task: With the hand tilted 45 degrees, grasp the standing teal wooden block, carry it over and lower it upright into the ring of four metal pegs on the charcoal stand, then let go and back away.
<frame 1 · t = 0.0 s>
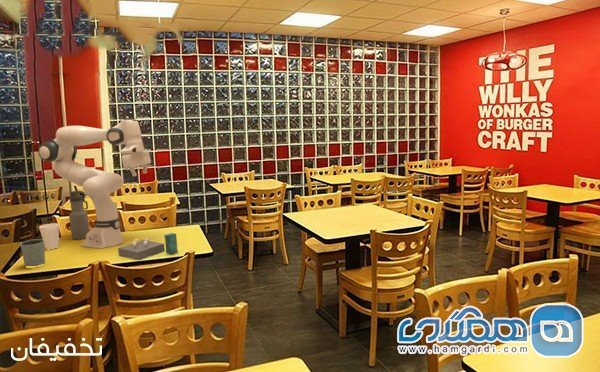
hand: (140, 174, 242), 39 cm above the table, tool pointing down, fingers open, 8 cm apart
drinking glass: (35, 266, 221), on the table
foam cup: (52, 248, 249), on the table
peg stand: (142, 253, 233), on the table
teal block: (172, 253, 231), on the table
water bottle: (81, 237, 269), on the table
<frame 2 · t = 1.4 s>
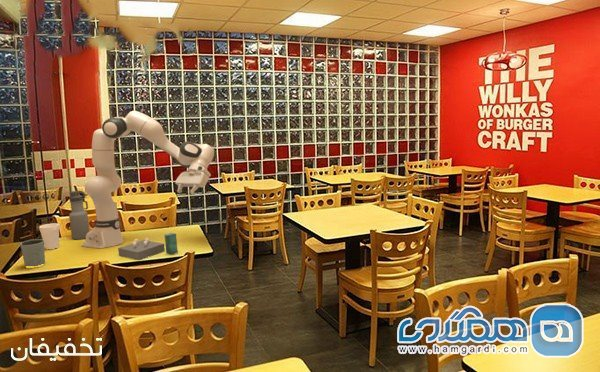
hand: (184, 192, 236), 29 cm above the table, tool tilted 45°, fingers open, 8 cm apart
nothing on the table moved.
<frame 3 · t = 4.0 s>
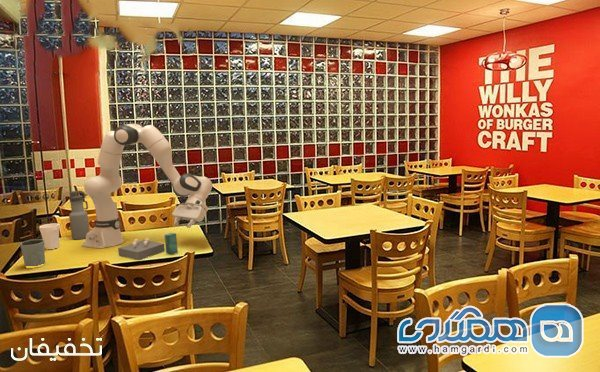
hand: (181, 226, 236), 12 cm above the table, tool tilted 45°, fingers open, 8 cm apart
nothing on the table moved.
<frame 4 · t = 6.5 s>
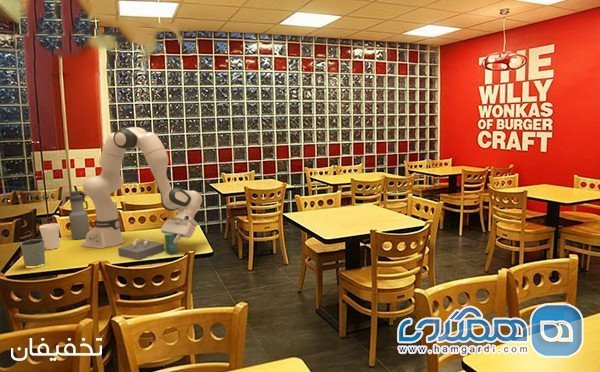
hand: (170, 242, 230), 6 cm above the table, tool tilted 45°, fingers closed on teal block, 4 cm apart
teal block: (172, 253, 231), on the table, touching gripper
everything else where it was.
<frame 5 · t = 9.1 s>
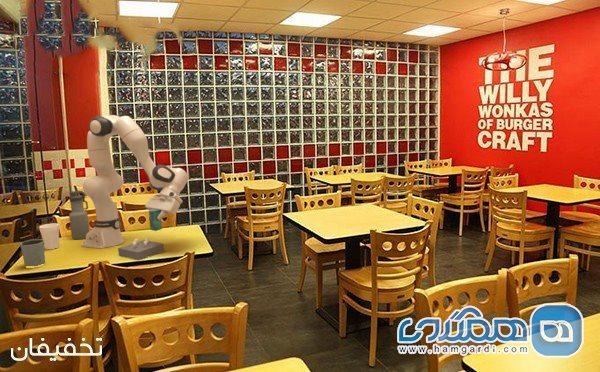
hand: (154, 218, 229), 18 cm above the table, tool tilted 45°, fingers closed on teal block, 4 cm apart
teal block: (156, 229, 230), point 13 cm above the table, touching gripper
everything else where it was.
when the fingers open (11 cm above the table, at t = 11.9 s): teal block drops 1 cm, resting on peg stand.
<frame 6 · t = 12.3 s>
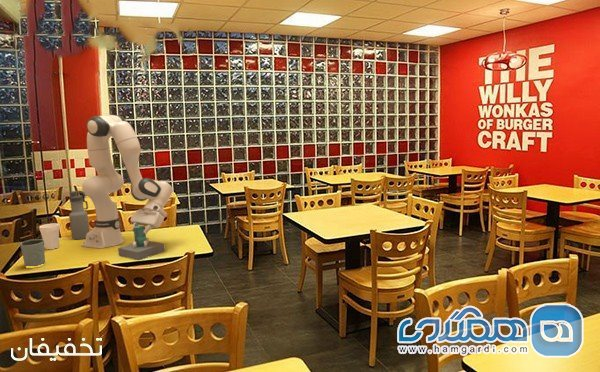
hand: (138, 232, 231), 11 cm above the table, tool tilted 45°, fingers open, 8 cm apart
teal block: (141, 245, 233), point 4 cm above the table, touching peg stand
everything else where it was.
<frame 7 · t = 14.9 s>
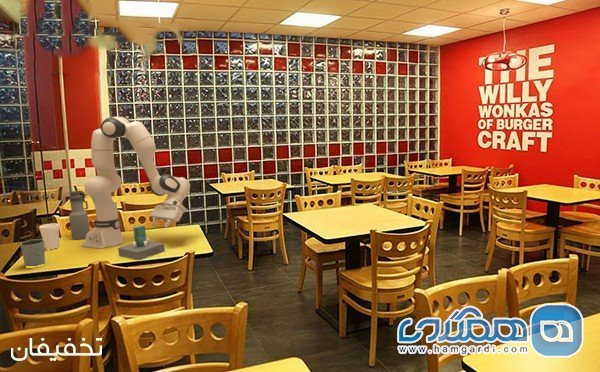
hand: (159, 226, 241), 11 cm above the table, tool tilted 45°, fingers open, 8 cm apart
nothing on the table moved.
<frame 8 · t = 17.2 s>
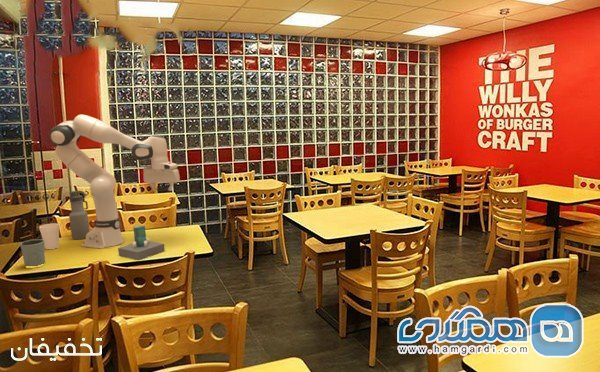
hand: (162, 190, 247), 29 cm above the table, tool pointing down, fingers open, 8 cm apart
nothing on the table moved.
at the end: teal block 0.1 cm off-centre on the peg stand, point 4.0 cm above the peg stand's base; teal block tilted 0°; the gripper is holding nothing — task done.
